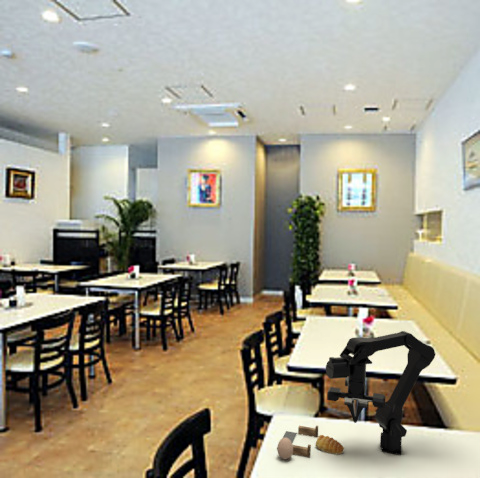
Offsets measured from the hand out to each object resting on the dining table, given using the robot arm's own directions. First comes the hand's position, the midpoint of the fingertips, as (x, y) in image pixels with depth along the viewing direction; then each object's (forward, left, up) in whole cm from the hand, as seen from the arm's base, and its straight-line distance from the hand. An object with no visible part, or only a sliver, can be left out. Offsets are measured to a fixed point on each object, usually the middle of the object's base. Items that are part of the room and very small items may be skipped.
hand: (355, 422), depth 155 cm
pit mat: (+23, 0, -11) cm, 25 cm away
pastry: (+9, 0, -11) cm, 14 cm away
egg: (+21, +12, -11) cm, 27 cm away
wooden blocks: (+17, 0, -11) cm, 20 cm away
